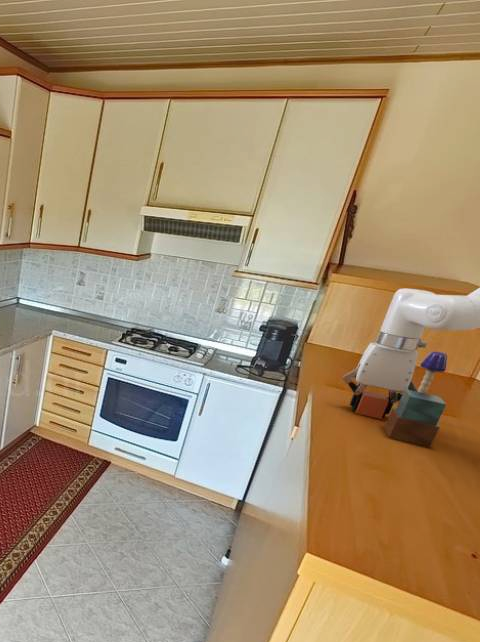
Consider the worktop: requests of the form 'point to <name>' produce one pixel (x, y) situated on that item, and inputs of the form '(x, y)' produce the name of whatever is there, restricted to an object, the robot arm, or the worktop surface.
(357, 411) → the toy cube
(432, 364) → the toy lamp
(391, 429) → the block stack
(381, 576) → the worktop surface
